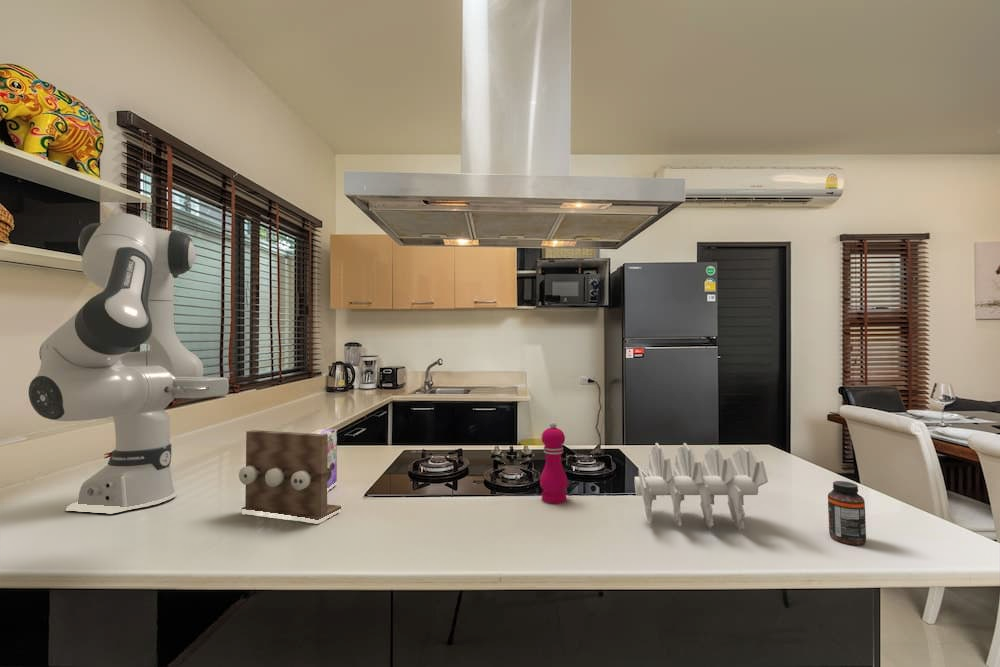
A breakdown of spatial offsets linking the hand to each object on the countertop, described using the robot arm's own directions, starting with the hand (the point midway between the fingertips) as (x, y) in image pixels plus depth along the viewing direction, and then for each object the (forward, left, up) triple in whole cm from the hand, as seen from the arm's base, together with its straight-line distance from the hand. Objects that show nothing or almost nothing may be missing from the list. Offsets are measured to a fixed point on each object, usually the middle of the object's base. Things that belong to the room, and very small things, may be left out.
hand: (214, 383), depth 98 cm
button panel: (+13, +10, -32) cm, 36 cm away
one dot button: (+4, +9, -24) cm, 26 cm away
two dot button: (+19, +4, -24) cm, 31 cm away
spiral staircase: (+106, +1, -32) cm, 111 cm away
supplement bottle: (+133, -8, -32) cm, 137 cm away
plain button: (+12, +7, -24) cm, 27 cm away
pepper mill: (+77, +18, -32) cm, 85 cm away
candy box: (+13, +25, -32) cm, 43 cm away
